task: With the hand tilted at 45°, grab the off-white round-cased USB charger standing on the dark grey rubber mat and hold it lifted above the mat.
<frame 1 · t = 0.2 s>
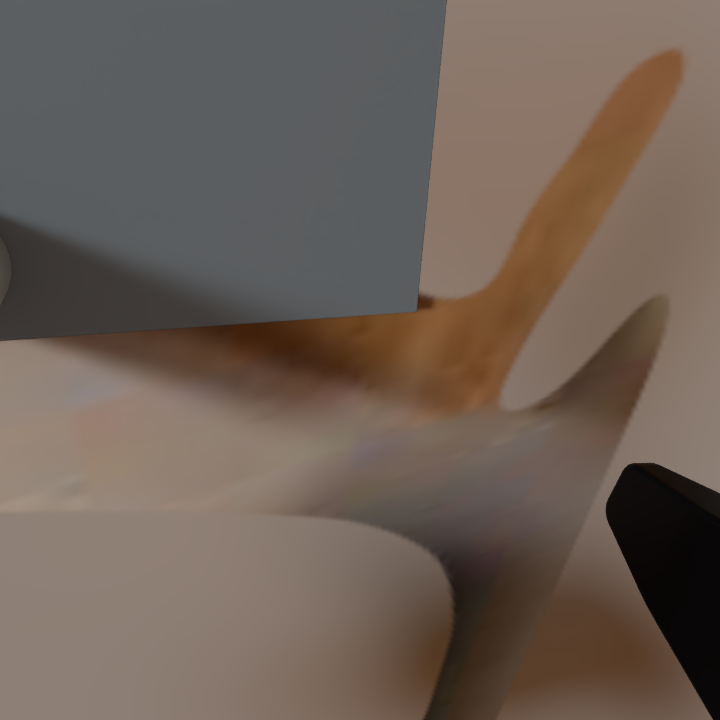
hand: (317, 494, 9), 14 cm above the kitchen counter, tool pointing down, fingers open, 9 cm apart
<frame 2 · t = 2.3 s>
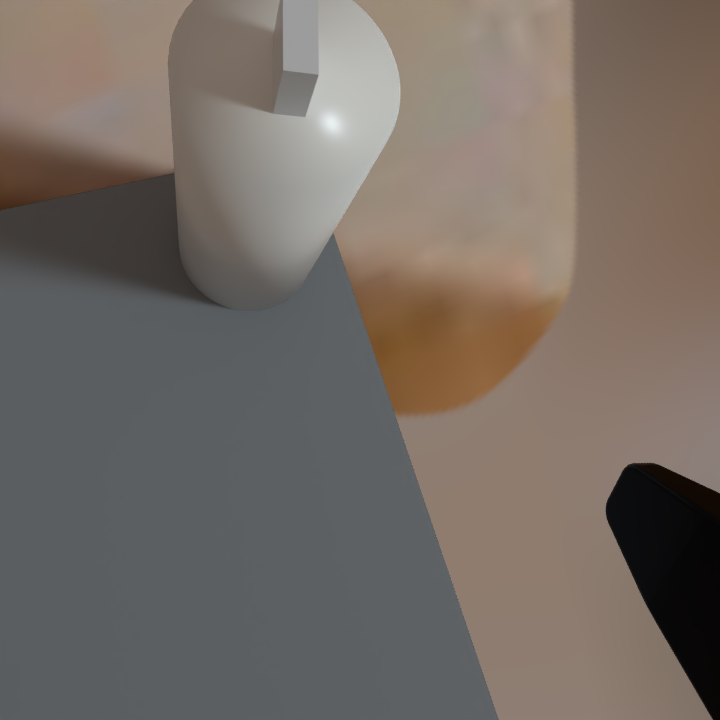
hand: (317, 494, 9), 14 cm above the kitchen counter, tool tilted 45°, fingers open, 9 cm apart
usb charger: (247, 246, 22), point 1 cm above the kitchen counter, touching desk mat
desk mat: (137, 541, 21), on the kitchen counter
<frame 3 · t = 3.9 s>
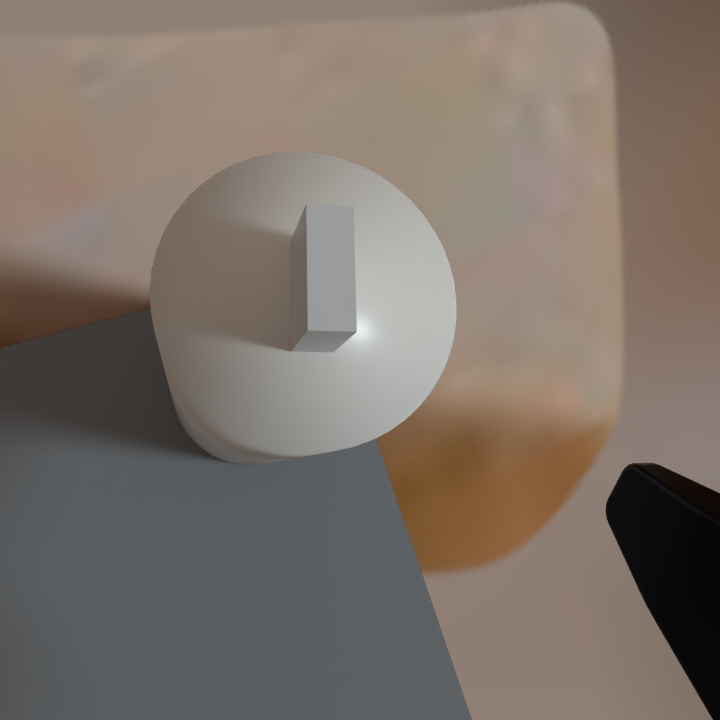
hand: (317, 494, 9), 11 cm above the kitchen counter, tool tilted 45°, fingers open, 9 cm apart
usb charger: (251, 387, 19), point 1 cm above the kitchen counter, touching desk mat
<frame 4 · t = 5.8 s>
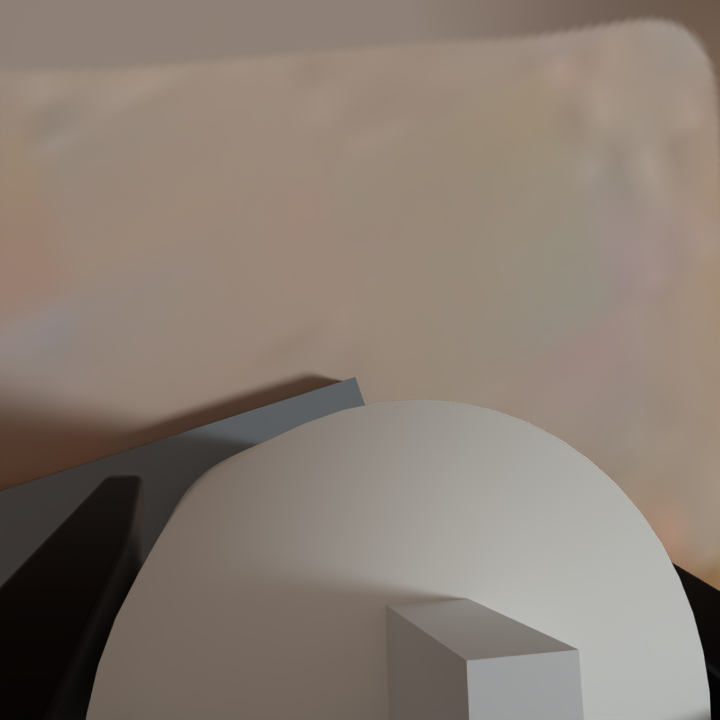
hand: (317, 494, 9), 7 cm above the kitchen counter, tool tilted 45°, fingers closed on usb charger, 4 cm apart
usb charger: (270, 553, 14), point 1 cm above the kitchen counter, touching desk mat, gripper
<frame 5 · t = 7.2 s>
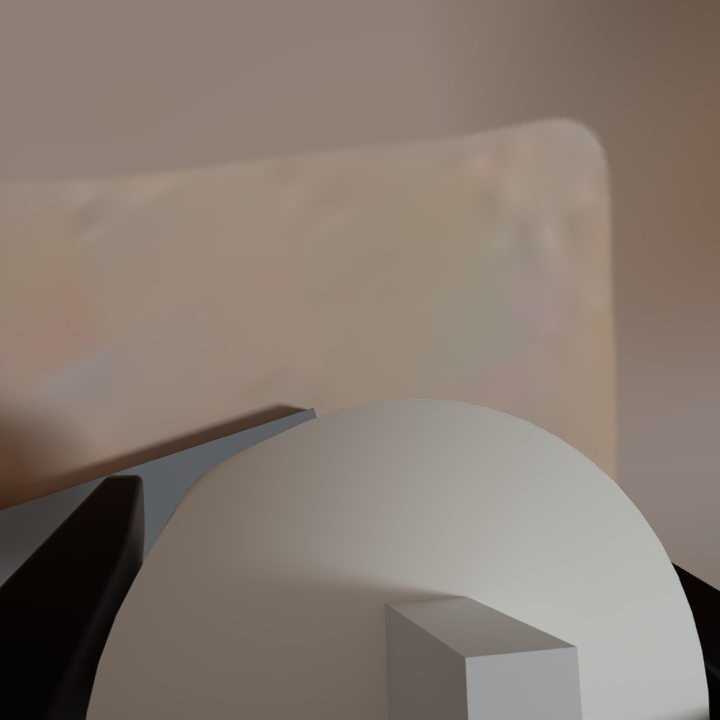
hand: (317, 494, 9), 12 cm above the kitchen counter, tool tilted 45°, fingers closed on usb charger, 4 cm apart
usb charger: (270, 552, 14), point 6 cm above the kitchen counter, touching gripper
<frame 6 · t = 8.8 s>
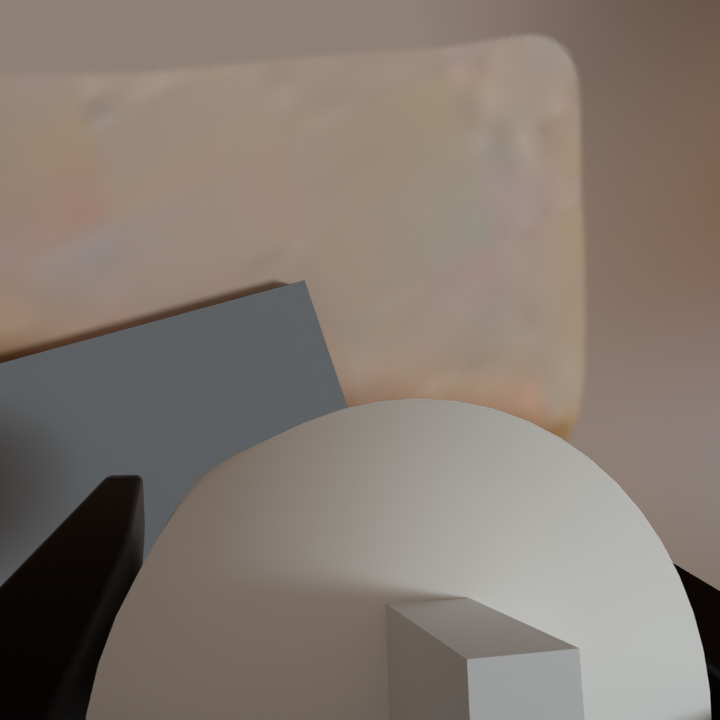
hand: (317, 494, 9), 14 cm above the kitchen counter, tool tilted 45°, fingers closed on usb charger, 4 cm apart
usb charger: (270, 552, 14), point 8 cm above the kitchen counter, touching gripper
desk mat: (133, 708, 20), on the kitchen counter
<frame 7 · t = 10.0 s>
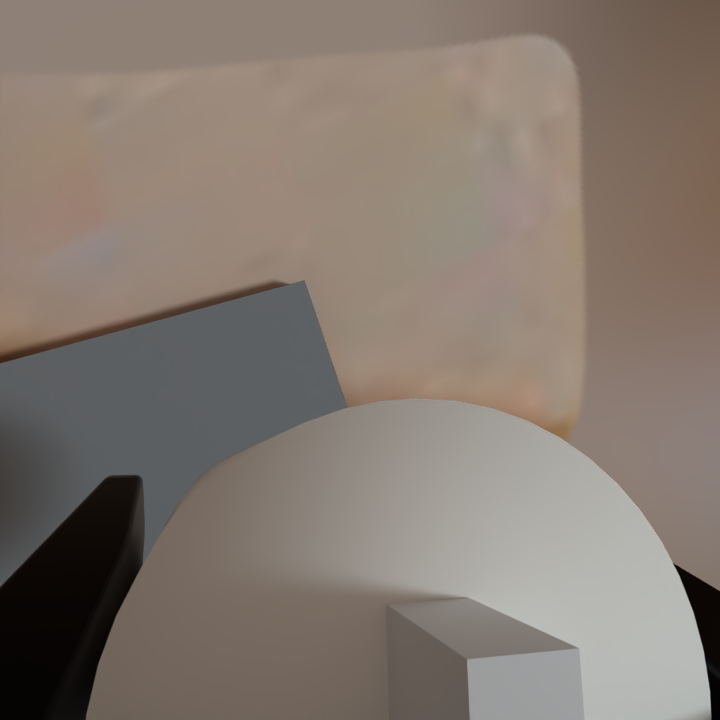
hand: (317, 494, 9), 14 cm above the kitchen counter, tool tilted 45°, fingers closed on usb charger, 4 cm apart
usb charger: (270, 552, 14), point 8 cm above the kitchen counter, touching gripper
desk mat: (133, 708, 20), on the kitchen counter
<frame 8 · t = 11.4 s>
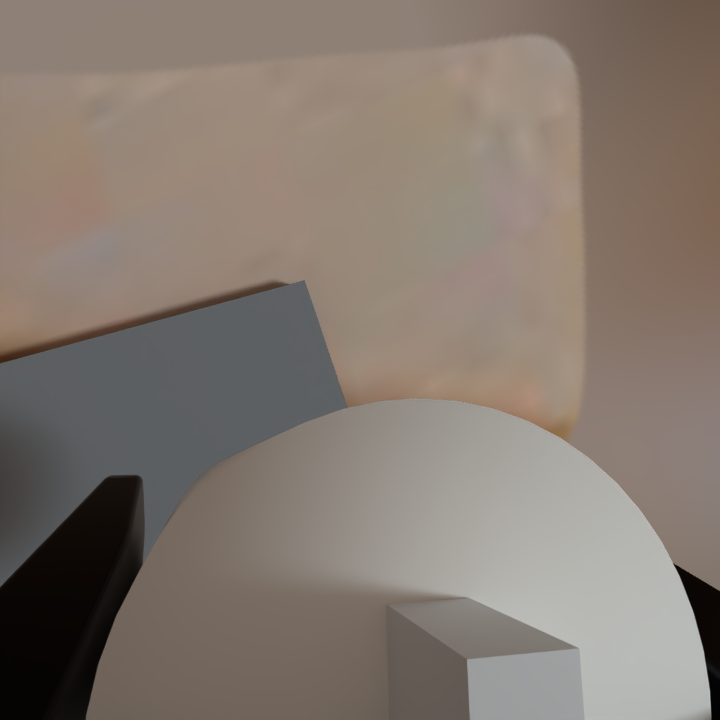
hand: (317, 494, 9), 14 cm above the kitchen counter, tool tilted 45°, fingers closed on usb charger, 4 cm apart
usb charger: (270, 552, 14), point 8 cm above the kitchen counter, touching gripper
desk mat: (133, 708, 20), on the kitchen counter
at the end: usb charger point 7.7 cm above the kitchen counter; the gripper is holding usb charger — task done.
